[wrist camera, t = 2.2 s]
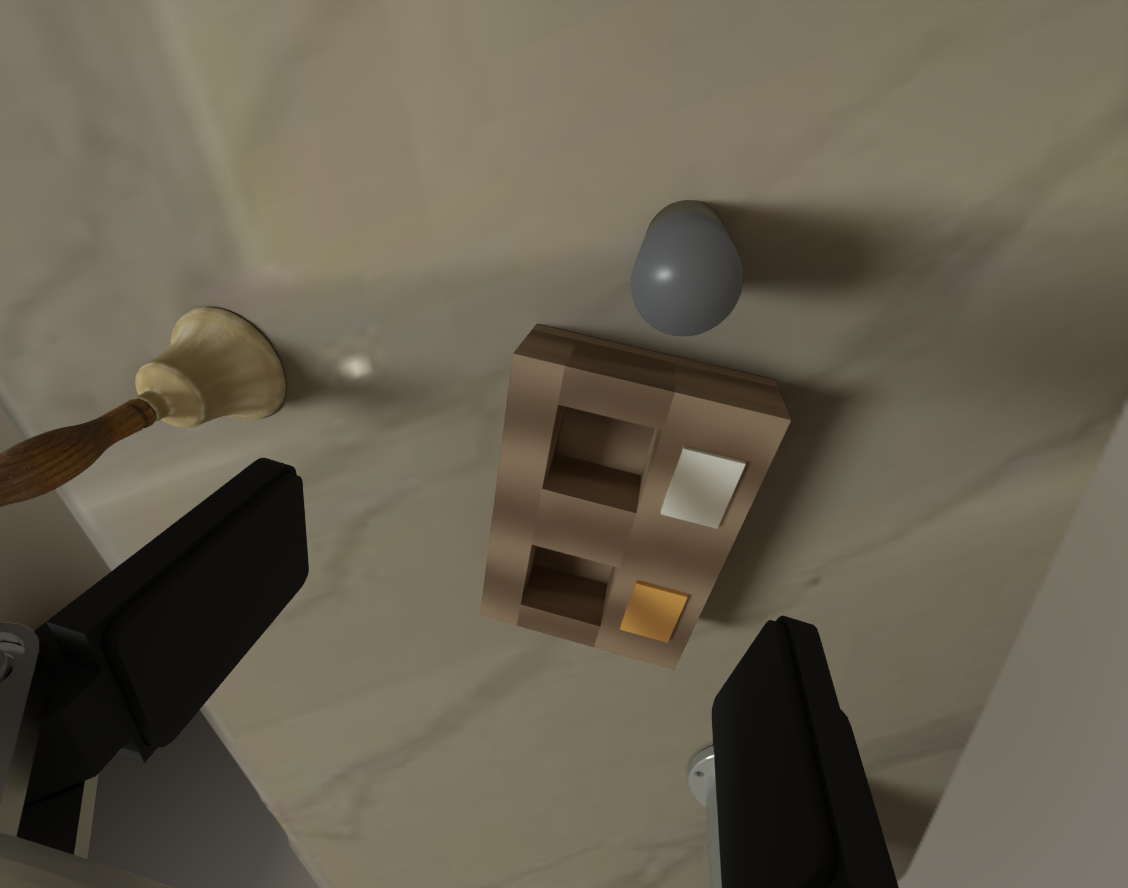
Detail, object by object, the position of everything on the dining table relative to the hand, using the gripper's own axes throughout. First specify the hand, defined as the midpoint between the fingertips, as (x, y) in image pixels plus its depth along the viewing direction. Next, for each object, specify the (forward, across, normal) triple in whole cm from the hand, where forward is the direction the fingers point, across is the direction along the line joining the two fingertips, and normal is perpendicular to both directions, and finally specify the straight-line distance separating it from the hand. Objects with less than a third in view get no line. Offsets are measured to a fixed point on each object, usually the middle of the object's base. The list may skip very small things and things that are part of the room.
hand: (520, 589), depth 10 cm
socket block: (+22, -3, +12) cm, 25 cm away
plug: (+22, -2, -4) cm, 22 cm away
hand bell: (+22, +25, +12) cm, 35 cm away
